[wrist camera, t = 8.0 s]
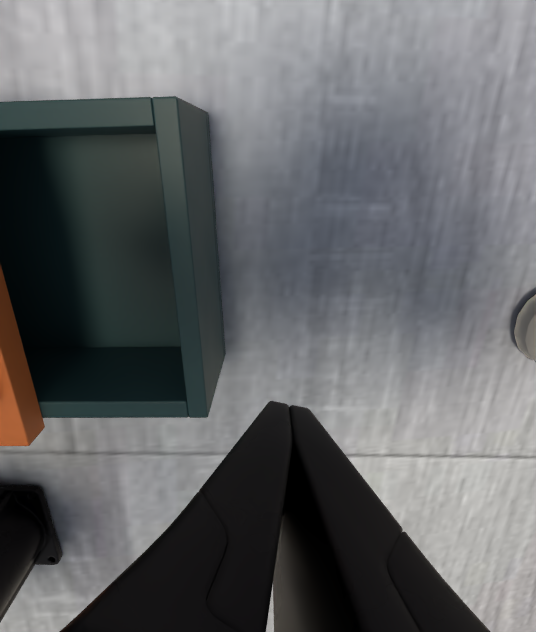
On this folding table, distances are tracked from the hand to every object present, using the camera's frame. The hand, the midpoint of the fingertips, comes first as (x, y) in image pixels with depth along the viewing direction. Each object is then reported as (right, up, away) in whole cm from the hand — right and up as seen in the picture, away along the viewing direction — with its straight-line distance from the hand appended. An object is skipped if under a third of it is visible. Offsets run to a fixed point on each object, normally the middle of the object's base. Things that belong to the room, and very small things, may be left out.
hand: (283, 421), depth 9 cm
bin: (-12, +5, +11) cm, 17 cm away
